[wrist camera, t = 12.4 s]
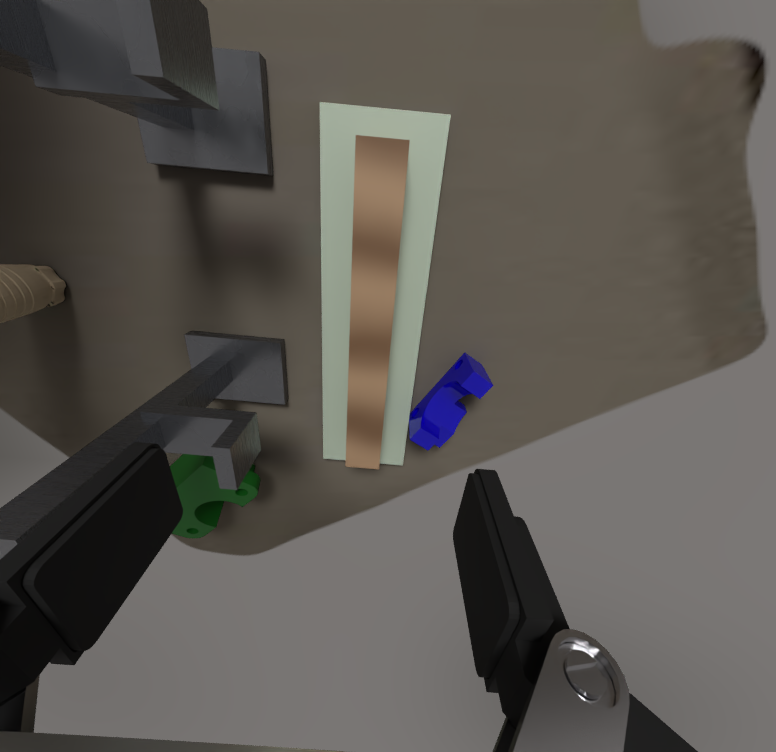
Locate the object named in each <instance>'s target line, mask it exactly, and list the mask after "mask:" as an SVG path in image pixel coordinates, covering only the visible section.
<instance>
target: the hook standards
mask: <svg viewBox="0 0 776 752" xmlns="http://www.w3.org/2000/svg"><path fill="white" fill-rule="evenodd" d="M0 65H1V66H3V67H6V68H8V69H11V70H14V71H16V72H19V73H22V74H24V75H27V76H29V77H32V78H33V79H34V83H35V86H36V87H39V88H42V89H44V90H47V91H50V92H53V93H55V94H58V95H62V96H73V97H83V98H87V99H90V100H93V101H95V102H98V103H100V104H103V105H106V106H108V107H111V108H114V109H116V110H119V111H121V112H124V113H127V114H129V115H132V116H135V117H137V118H138V123H139V127H140V132H141V137H142V141H143V146H144V151H145V155H146V160H147V163H151V164H156V165H164V166H175V167H185V168H196V169H206V170H217V171H228V172H238V173H249V174H259V175H270V176H273V164H272V149H271V134H270V119H269V105H268V90H267V75H266V60H265V59H264V57H263V56H262V55H261V54H260V53H259V52H253V51H243V50H233V49H222V48H212V45H211V37H210V28H209V20H208V12H207V8H206V7H205V6H204V5H203V4H202V3H201V2H200V1H199V0H0ZM184 336H185V340H186V345H187V350H188V354H189V359H190V364H191V368H192V369H191V370H190V371H188V372H187V373H186V374H184V375H183V376H181V377H180V378H179V379H177V380H176V381H175V382H173V383H172V384H170V385H169V386H168V387H166V388H165V389H164V390H162V391H161V392H159V393H158V394H157V395H155V396H154V397H153V398H151V399H150V400H148V401H147V402H146V403H144V404H143V405H142V406H140V407H139V408H137V409H136V410H135V411H133V412H132V413H131V414H129V415H128V416H127V417H125V418H124V419H122V420H121V421H120V422H118V423H117V424H116V425H114V426H113V427H111V428H110V429H109V430H107V431H106V432H105V433H103V434H102V435H100V436H99V437H98V438H96V439H95V440H94V441H92V442H91V443H89V444H88V445H87V446H85V447H84V448H83V449H81V450H80V451H78V452H77V453H76V454H74V455H73V456H72V457H70V458H69V459H67V460H66V461H65V462H63V463H62V464H61V465H59V466H58V467H56V468H55V469H54V470H52V471H51V472H50V473H48V474H47V475H45V476H44V477H43V478H41V479H40V480H39V481H37V482H36V483H34V484H33V485H32V486H30V487H29V488H28V489H26V490H25V491H23V492H22V493H21V494H19V495H18V496H17V497H15V498H14V499H12V500H11V501H10V502H8V503H7V504H6V505H4V506H3V507H1V508H0V559H1V558H2V557H4V556H5V555H6V554H7V553H8V552H9V551H10V550H12V549H13V548H14V547H15V546H16V545H17V544H18V543H19V542H21V541H22V540H23V539H24V538H25V537H26V536H27V535H29V534H30V533H31V532H32V531H33V530H34V529H35V528H36V527H38V526H39V525H40V524H41V523H42V522H43V521H44V520H46V519H47V518H48V517H49V516H50V515H51V514H52V513H53V512H55V511H56V510H57V509H58V508H59V507H60V506H61V505H63V504H64V503H65V502H66V501H67V500H68V499H69V498H70V497H72V496H73V495H74V494H75V493H76V492H77V491H78V490H80V489H81V488H82V487H83V486H84V485H85V484H86V483H87V482H89V481H90V480H91V479H92V478H93V477H94V476H95V475H97V474H98V473H99V472H100V471H101V470H102V469H103V468H104V467H106V466H107V465H108V464H109V463H110V462H111V461H112V460H113V459H115V458H116V457H117V456H118V455H119V454H120V453H121V452H123V451H124V450H125V449H126V448H127V447H128V446H129V445H131V444H132V443H135V442H142V443H155V444H158V445H159V446H160V448H161V449H163V450H164V451H165V452H168V453H180V454H191V455H202V456H213V459H214V464H215V469H216V474H217V478H218V483H219V488H220V489H231V490H237V489H238V488H239V486H240V484H241V483H242V481H243V479H244V478H245V476H246V474H247V473H248V471H249V469H250V468H251V466H252V464H253V463H254V461H255V459H256V458H257V456H258V454H259V453H260V451H261V445H260V437H259V429H258V421H257V413H256V412H245V411H234V410H223V409H212V408H206V407H207V406H208V405H209V404H210V403H211V402H212V401H213V400H214V399H215V398H217V399H228V400H239V401H251V402H262V403H273V404H284V405H285V403H286V402H287V400H288V388H287V373H286V358H285V343H284V339H276V338H265V337H254V336H243V335H232V334H221V333H210V332H199V331H190V332H188V333H186V334H185V335H184Z"/></svg>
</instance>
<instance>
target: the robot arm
mask: <svg viewBox="0 0 776 752" xmlns="http://www.w3.org/2000/svg"><path fill="white" fill-rule="evenodd" d="M182 515H183V507H182V504H181V501H180V498H179V495H178V491H177V488H176V485H175V482H174V479H173V476H172V472H171V469H170V466H169V463H168V460H167V457H166V453H165V451H164V450H163V449H161V448H160V446H159V445H158V444H155V443H142V442H135V443H132V444H131V445H129V446H128V447H127V448H126V449H125V450H124V451H123V452H121V453H120V454H119V455H118V456H117V457H116V458H115V459H113V460H112V461H111V462H110V463H109V464H108V465H107V466H106V467H104V468H103V469H102V470H101V471H100V472H99V473H98V474H97V475H95V476H94V477H93V478H92V479H91V480H90V481H89V482H87V483H86V484H85V485H84V486H83V487H82V488H81V489H80V490H78V491H77V492H76V493H75V494H74V495H73V496H72V497H70V498H69V499H68V500H67V501H66V502H65V503H64V504H63V505H61V506H60V507H59V508H58V509H57V510H56V511H55V512H53V513H52V514H51V515H50V516H49V517H48V518H47V519H46V520H44V521H43V522H42V523H41V524H40V525H39V526H38V527H36V528H35V529H34V530H33V531H32V532H31V533H30V534H29V535H27V536H26V537H25V538H24V539H23V540H22V541H21V542H19V543H18V544H17V545H16V546H15V547H14V548H13V549H12V550H10V551H9V552H8V553H7V554H6V555H5V556H4V557H2V558H1V559H0V752H343V751H328V750H327V751H326V750H313V749H298V748H282V747H268V746H252V745H235V744H219V743H203V742H186V741H170V740H153V739H137V738H136V739H135V738H119V737H100V736H83V735H82V736H81V735H65V734H47V733H34V724H35V713H36V704H37V693H38V684H39V675H40V673H41V672H42V671H43V669H44V668H45V667H46V665H47V664H48V663H49V662H51V664H64V665H75V664H76V662H77V661H78V659H79V658H80V656H81V655H82V654H83V652H84V651H86V650H88V649H90V648H91V647H92V646H93V645H94V644H95V642H96V641H97V640H98V639H99V637H100V636H101V634H102V633H103V631H104V630H105V628H106V627H107V625H108V624H109V623H110V621H111V620H112V618H113V617H114V615H115V614H116V613H117V611H118V610H119V608H120V607H121V605H122V604H123V603H124V601H125V600H126V598H127V597H128V595H129V594H130V592H131V591H132V590H133V588H134V587H135V585H136V584H137V582H138V581H139V579H140V578H141V577H142V575H143V574H144V572H145V571H146V569H147V568H148V567H149V565H150V564H151V562H152V561H153V559H154V558H155V556H156V555H157V554H158V552H159V551H160V549H161V548H162V546H163V545H164V543H165V542H166V541H167V539H168V538H169V536H170V535H171V533H172V532H173V531H174V529H175V528H176V526H177V525H178V523H179V522H180V520H181V518H182ZM453 540H454V547H455V553H456V558H457V564H458V570H459V576H460V582H461V587H462V593H463V599H464V604H465V610H466V616H467V622H468V628H469V633H470V639H471V645H472V650H473V656H474V662H475V667H476V671H477V674H478V676H479V677H484V680H485V686H486V691H487V692H493V693H499V697H500V702H501V707H502V711H503V713H504V714H505V715H506V718H505V720H504V723H503V726H502V728H501V731H500V734H499V736H498V739H497V742H496V744H495V746H494V749H493V752H697V751H696V750H695V749H694V748H693V747H692V746H690V745H689V744H688V743H687V742H686V741H685V740H684V739H682V738H681V737H680V736H679V735H678V734H677V733H676V732H674V731H673V730H672V729H671V728H670V727H668V726H667V725H666V724H665V723H664V722H663V721H661V720H660V719H659V718H658V717H657V716H656V715H655V714H654V713H652V712H651V711H650V710H649V709H648V708H647V707H645V706H644V705H643V704H642V703H641V702H640V701H638V700H637V699H636V698H635V697H634V696H633V695H632V694H630V693H629V689H628V686H627V683H626V680H625V676H624V674H623V673H622V671H621V669H620V667H619V665H618V664H617V662H616V661H615V659H614V658H613V657H612V655H611V654H610V653H609V652H608V651H607V649H606V648H605V647H603V646H602V645H601V644H600V643H599V642H598V641H597V640H596V639H594V638H592V637H591V636H589V635H587V634H586V633H584V632H581V631H578V630H574V629H569V626H568V624H567V622H566V619H565V617H564V614H563V612H562V609H561V607H560V605H559V602H558V600H557V597H556V595H555V593H554V590H553V588H552V586H551V583H550V581H549V578H548V576H547V573H546V571H545V569H544V566H543V564H542V561H541V559H540V556H539V554H538V552H537V549H536V547H535V545H534V542H533V540H532V537H531V535H530V532H529V530H528V528H527V525H526V524H525V522H524V520H523V519H522V518H520V517H514V516H513V513H512V511H511V508H510V505H509V503H508V500H507V497H506V495H505V492H504V490H503V487H502V484H501V482H500V480H499V477H498V474H497V472H496V471H495V470H484V469H476V470H475V472H474V473H470V474H469V475H468V479H467V482H466V486H465V490H464V493H463V497H462V501H461V505H460V508H459V512H458V515H457V519H456V523H455V526H454V531H453Z"/></svg>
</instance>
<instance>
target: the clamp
mask: <svg viewBox="0 0 776 752" xmlns="http://www.w3.org/2000/svg"><path fill="white" fill-rule="evenodd" d="M170 469H171V472H172V476H173V479H174V482H175V485H176V488H177V491H178V495H179V498H180V501H181V504H182V507H183V515H182V518H181V520H180V522H179V523H178V525H177V526H176V528H175V529H174V531H173V532H172V534H175V535H179V536H182V537H186V538H200V537H203V536H205V535H206V534H208V533H209V532H210V531H212V530H213V529H214V528H216V526H217V523H218V520H219V516H220V513H221V510H222V507H223V503H224V501H228V502H232V503H236V504H238V505H240V506H242V507H243V506H244V505H246V504H247V503H248V502H250V501H251V500H252V499H254V498H255V497H256V496H257V494H258V489H259V485H260V477H259V476H258V475H257V474H256V473H254V469H255V465H253V464H252V466H251V468H250V469H249V471H248V473H247V474H246V476H245V478H244V479H243V481H242V483H241V484H240V486H239V488H238V489H237V490H231V489H220V488H219V483H218V478H217V474H216V469H215V464H214V459H213V456H202V455H191V454H183V455H182V456H181V457H180V458H179V459H177V460H176V461H175V462H174V463H173V464H172V465H171V466H170Z"/></svg>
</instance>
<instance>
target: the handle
mask: <svg viewBox="0 0 776 752" xmlns="http://www.w3.org/2000/svg"><path fill="white" fill-rule="evenodd" d="M65 287H66V284H65V282H64V280H62V279H60V278H59V277H58V276H57V274H56V273H55V272H54V270H53V269H52V268H50V267H48V266H34V265H31V264H17V265H13V264H0V323H3V322H7V321H10V320H13V319H16V318H19V317H22V316H25V315H28V314H31V313H34V312H36V311H38V310H41V309H43V308H44V307H46V306H48V307H51V306H54V305H57V304H59V303H61V302H63V301H64V299H65V296H64V289H65Z"/></svg>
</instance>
